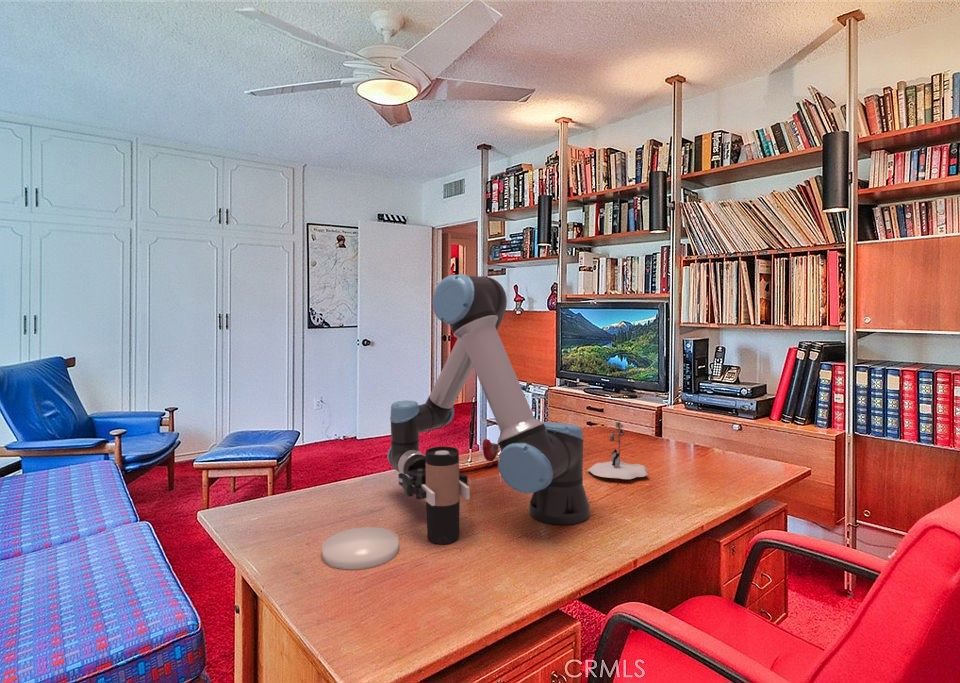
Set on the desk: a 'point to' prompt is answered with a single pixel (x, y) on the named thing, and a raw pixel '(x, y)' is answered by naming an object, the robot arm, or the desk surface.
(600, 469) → the figurine
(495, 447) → the decorative bird figurine
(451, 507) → the travel mug
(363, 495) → the desk surface
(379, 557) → the white round disc
